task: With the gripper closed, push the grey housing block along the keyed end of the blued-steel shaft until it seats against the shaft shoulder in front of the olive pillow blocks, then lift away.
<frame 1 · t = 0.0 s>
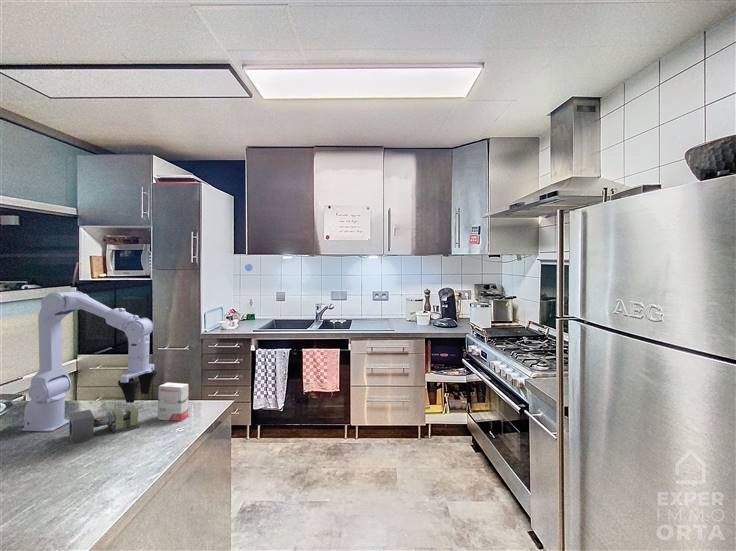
hand: (137, 397, 116), 10 cm above the worktop, tool pointing down, fingers open, 7 cm apart
ink box: (173, 418, 126), on the worktop
grey housing block: (81, 425, 109), point 4 cm above the worktop, slide at 0.0 cm
shaft rig: (107, 430, 114), on the worktop
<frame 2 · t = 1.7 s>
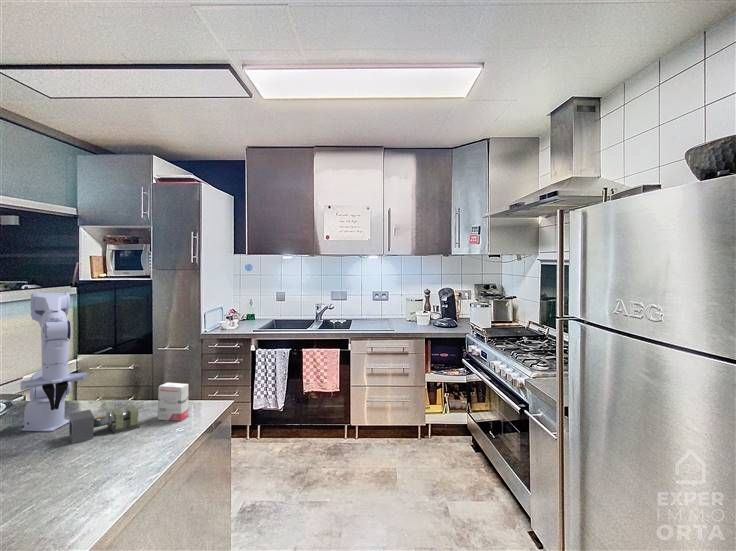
hand: (54, 408, 105), 10 cm above the worktop, tool pointing down, fingers closed
nothing on the worktop moved.
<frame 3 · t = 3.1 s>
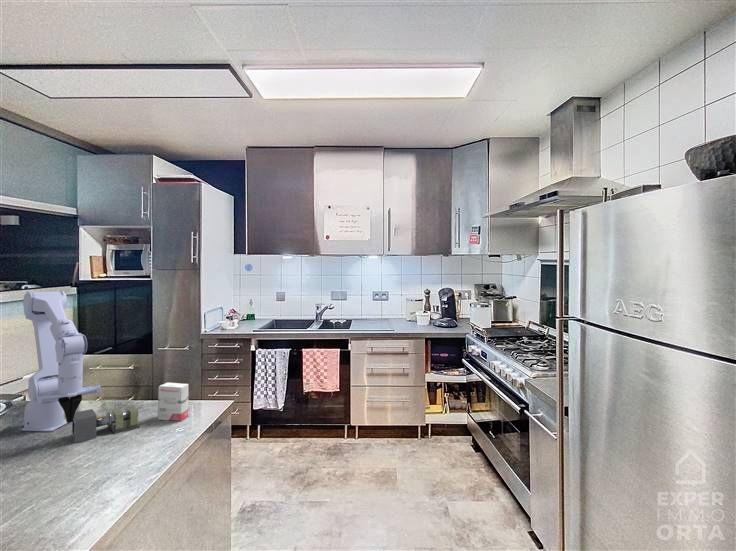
hand: (69, 421, 107), 6 cm above the worktop, tool pointing down, fingers closed
grey housing block: (84, 425, 110), point 4 cm above the worktop, slide at 0.7 cm, touching gripper
everything else where it was.
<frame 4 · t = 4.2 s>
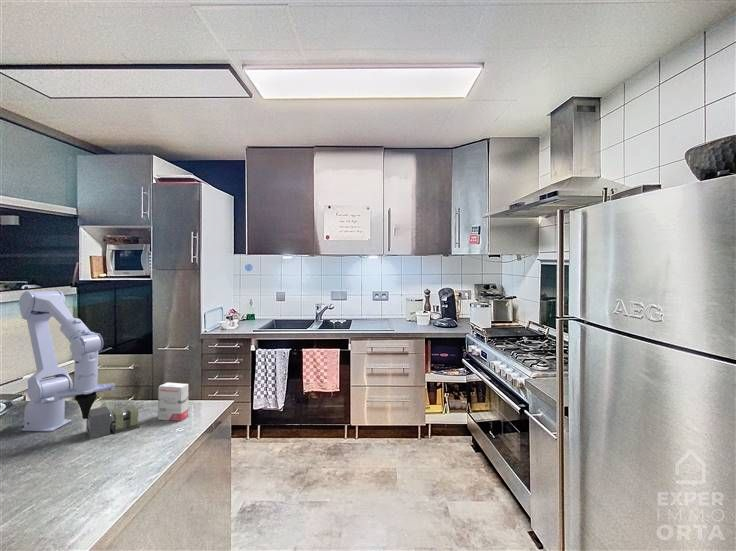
hand: (85, 418, 110), 6 cm above the worktop, tool pointing down, fingers closed
grey housing block: (98, 422, 112), point 4 cm above the worktop, slide at 4.2 cm, touching gripper, shaft rig
everything else where it was.
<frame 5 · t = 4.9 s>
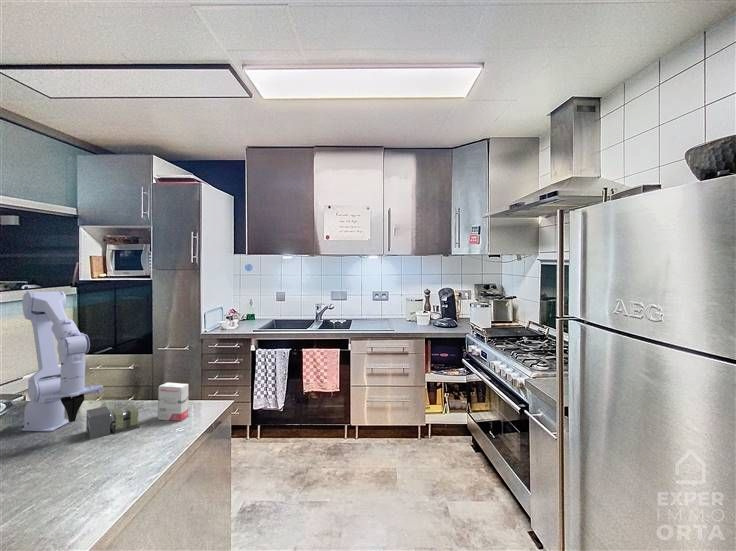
hand: (71, 420, 108), 6 cm above the worktop, tool pointing down, fingers closed
grey housing block: (98, 422, 112), point 4 cm above the worktop, slide at 4.2 cm, touching shaft rig
everything else where it was.
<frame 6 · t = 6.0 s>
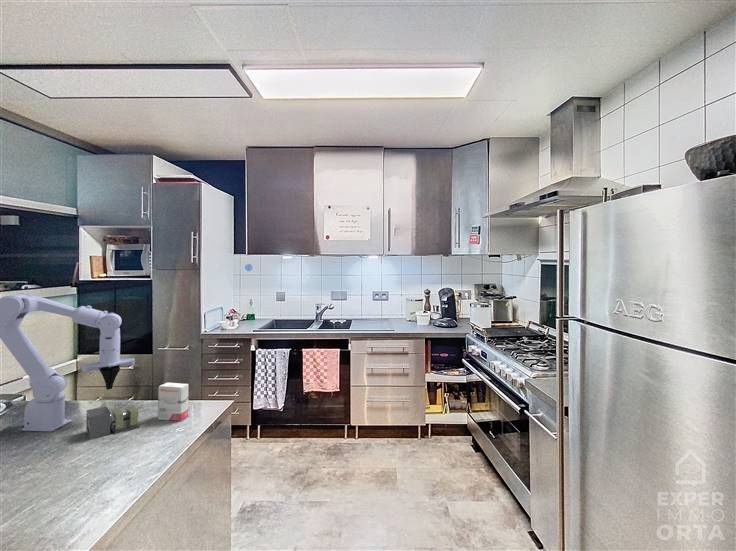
hand: (109, 388, 123), 10 cm above the worktop, tool pointing down, fingers closed
nothing on the worktop moved.
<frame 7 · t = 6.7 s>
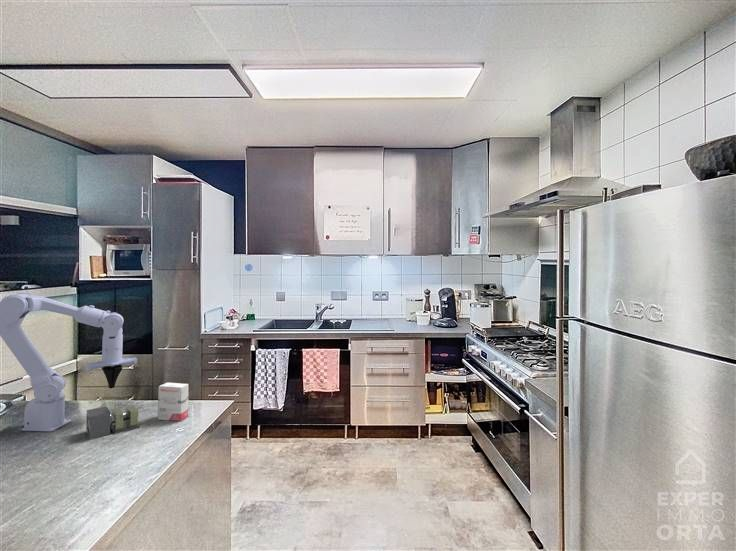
hand: (111, 387, 124), 10 cm above the worktop, tool pointing down, fingers closed
nothing on the worktop moved.
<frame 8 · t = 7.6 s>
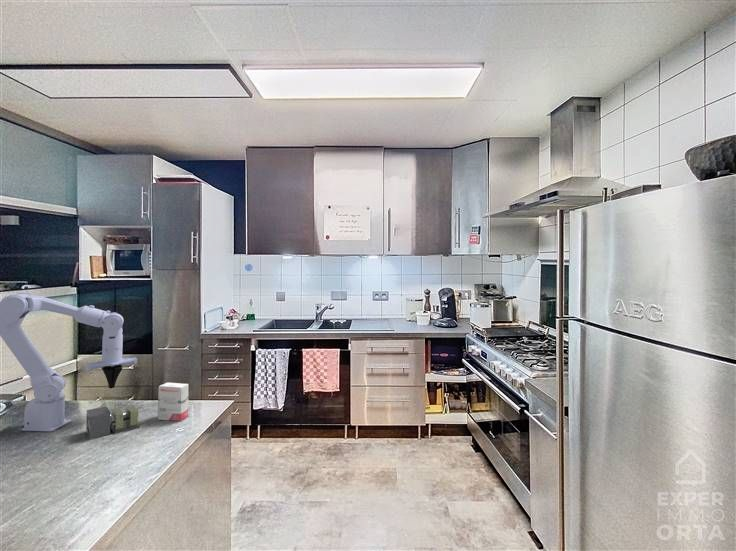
hand: (111, 387, 124), 10 cm above the worktop, tool pointing down, fingers closed
nothing on the worktop moved.
at the end: grey housing block slide at 4.2 cm; the gripper is holding nothing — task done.
